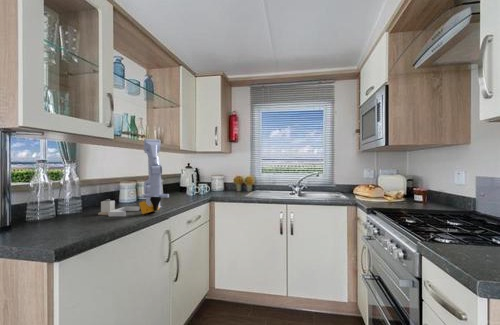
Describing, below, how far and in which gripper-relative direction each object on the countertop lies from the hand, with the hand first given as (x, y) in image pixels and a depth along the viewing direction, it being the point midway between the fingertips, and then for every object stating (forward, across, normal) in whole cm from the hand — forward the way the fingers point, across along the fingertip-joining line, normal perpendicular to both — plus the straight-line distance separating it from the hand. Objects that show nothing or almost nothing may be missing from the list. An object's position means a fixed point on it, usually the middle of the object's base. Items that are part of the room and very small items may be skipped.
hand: (155, 210), depth 141 cm
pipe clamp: (+1, -3, -1) cm, 3 cm away
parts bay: (+1, -17, 0) cm, 17 cm away
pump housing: (+1, -27, 0) cm, 27 cm away
